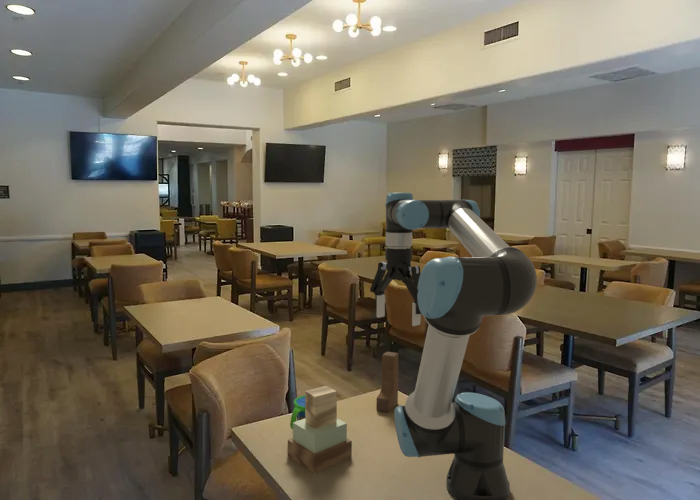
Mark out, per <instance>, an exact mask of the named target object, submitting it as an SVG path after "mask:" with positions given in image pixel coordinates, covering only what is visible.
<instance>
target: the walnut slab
mask: <svg viewBox="0 0 700 500" xmlns="http://www.w3.org/2000/svg"><path fill="white" fill-rule="evenodd" d="M352 443H353V441H352V440H350V438H347V441H344V442H342V443H339V444H337V445H335V446H332V447H330V448H327V449H325V450H322V451H320V452H317V453H313V452H312V451H310V450H309V449H307V448H305V447H304V446H302V445H300V444H299V443H297V442H296V441H294V440H293V437H291V438H290V439H288V440H287V457H289V458H290V459H292V460H293V461H295V462H296V463H298V464H300V465H301V466H303V467H305V468H306V469H307V470H309V471H310V472H312V473H314V474H316V473H318V472H320V471H323V470H325V469H327V468H329V467H332V466H334V465H336V464H338V463H341V462H343V461H345V460H347V459H350V458H352V457H353V456H352V449H353V448H352Z"/></svg>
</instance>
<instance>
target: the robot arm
mask: <svg viewBox="0 0 700 500" xmlns="http://www.w3.org/2000/svg"><path fill="white" fill-rule="evenodd" d="M386 194H387V195H386V199H385V205H384V206H385V246H386V248H385V253H384V254H385V256H384V258H385V259H384V260H385V261H379V262H378V263H377V264H378V265H377V270H376V273H375V276H374V279H373V281H372V283H371V286H370V288H369V292H371V293H373V294H374V295H375V297H374V298H375V299H374V300H375V302H374V303H375V306H376V318H378V319H380V318H384V317H385V315H386V314H385V313H386V312H385V311H386V304H385V303H386V295H385V293H384V292H385V291H386V290H387V288H388V287H389V286H390V284H391V282H392V281H394V280H397V281H398V282H399V281H401V282H402V283H403V284H404V285H405V287H406V289H407V290H408V291H409V293H410V296H411V297H412V299H413V300H414V301H413V302H411V303H412V310H411V311H412V312H411V313H412V314H411V315H412V316H411V323H412V324H411V326H412V327H417V326H419V325H421V324H422V323H421V322H422V321H421V320H422V319H421V316H423V318H424V320H425V321H426V322H427V324H428V326H427V331H426V336H425V339H424V346H423V350H422V354H421V360H420V365H419V368H418V373H417V377H416V378H417V379H416V383H415V389H414V391H412V392H411V393H410V394H409V395H408V396H407V397H406V400H405V404H404V405H402V404H400V405H399V406H398V405H397V406H396V407H394V413H393V414H394V426H395V427H394V428H395V432H396V439H397V441H398V445H399V449H400V451H401V453H402V454H403V455H404V456H405V457H406V458H407V457H409V458H422V457H431V456H445V455H452V454H453V455H454V456H453V459H452V461H451V464H450V467H449V469H448V471H447V475H446V481H445V482H446V483H445V484H446V489H447V492H448V493H449V495H451V496H452V497H453V498H454V499H456V500H508V499H509V497H510V490H511V489H510V488H511V487H510V486H511V485H510V481H509V479H508V476H507V471H506V468H505V464H504V453H505V451H504V448H505V430H506V429H505V428H506V423H507V422H506V416H505V414H506V413H505V412H506V411H505V409H504V406H503V405H502V403H500V401H498V400H497V399H495V398H493V397H490V396H488V395H485V394H481V393H477V392H461V393H457V395H455V391H456V388H457V384H458V381H459V376H460V373H461V369H462V365H463V361H464V358H465V354H466V351H467V346H468V343H469V339H470V336H471V335H473V334H475V333H476V332H477V331H478V330H479V329H480V327H481V325H482V321H483V318H484V317H492V316H493V317H494V316H506V315H510V314H514V313H516V312H518V311H520V310H522V309H523V308H524V307H526V306H527V305H528V304H529V302H530V301H531V300H532V298H533V296H534V294H535V292H536V289H537V285H538V283H537V282H538V279H537V278H538V276H537V271H536V268H535V266H534V263H533V262H532V260H531V259H530V258H529V257H528V256H527V255H526V254H525V253H524V252H523V251H522V250H520V249H519V248H517V247H514V246H510V245H509V244H507V242H506V241H504V239H502V238H501V237H500V236H499V235H498V234H497V233H496V232H495V231H494V230H493V228H491V227H490V226H489V225H488V224H487V223H486V222H485V221H484V220H483V219H481V215H480V213H481V212H480V207H479V205H478V203H477V202H476V201H475V200H472V199H414V195H413V193H411V192H388V193H386ZM418 229H419V230H420V229H449V231H450V232H451V233H452V234H453V235H454V236H455V237H456V239H457V240H458V241H459V243H460V244H462V246H463V247H464V248H465V249H466V251H467V252H468V253H469V254H470V255H471V256H470V257H469V256H468V257H466V256H465V257H456V256H451V255H449V256H445V257H437V258H433V259H431V260H429V261H428V262H426V263H425V265H424V266H423V268H422V270H421V267H420V266H419V265H415V266H412V265H411V263H412V261H413V249H412V248H411V247H412V246H413V230H418ZM386 261H387V262H386ZM454 395H455V398H454ZM453 398H454V402H453Z"/></svg>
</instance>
